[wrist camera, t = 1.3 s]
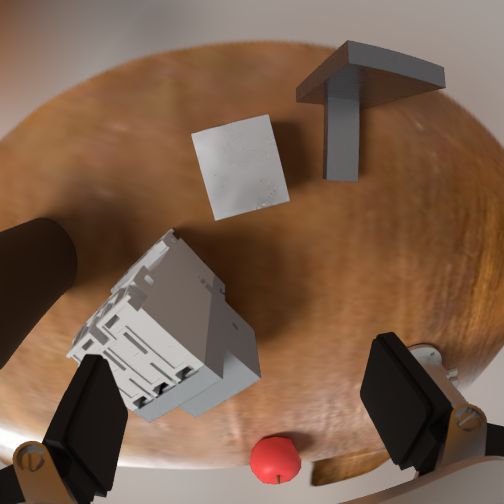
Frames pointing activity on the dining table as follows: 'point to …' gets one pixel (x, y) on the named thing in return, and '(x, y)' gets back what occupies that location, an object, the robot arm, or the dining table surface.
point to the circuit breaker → (171, 335)
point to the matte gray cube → (241, 166)
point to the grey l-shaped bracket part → (360, 96)
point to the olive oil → (31, 278)
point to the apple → (275, 460)
